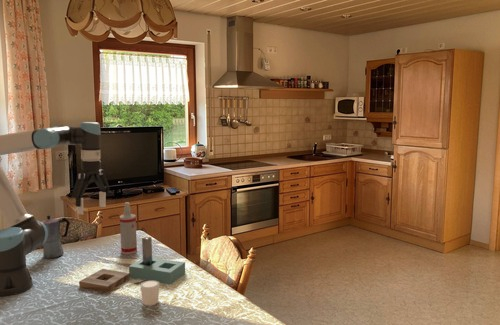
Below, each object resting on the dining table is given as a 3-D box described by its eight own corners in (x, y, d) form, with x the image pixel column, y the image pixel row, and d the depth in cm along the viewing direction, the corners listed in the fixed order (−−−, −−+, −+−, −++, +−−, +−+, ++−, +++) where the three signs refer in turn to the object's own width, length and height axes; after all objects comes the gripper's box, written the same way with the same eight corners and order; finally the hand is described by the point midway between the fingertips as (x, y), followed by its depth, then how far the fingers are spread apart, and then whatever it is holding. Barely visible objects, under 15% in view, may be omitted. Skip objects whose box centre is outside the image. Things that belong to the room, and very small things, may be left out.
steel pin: (149, 276, 180) (148, 240, 178) (141, 275, 181) (140, 239, 179) (154, 272, 183) (153, 237, 181) (146, 271, 185) (145, 236, 183)
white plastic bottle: (121, 249, 213) (119, 201, 210) (136, 248, 215) (134, 200, 212) (121, 254, 206) (119, 204, 202) (137, 253, 208) (135, 203, 205)
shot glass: (152, 295, 161) (151, 278, 160) (163, 301, 157) (163, 283, 156) (137, 302, 156) (136, 284, 155) (148, 307, 152) (148, 289, 151)
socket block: (108, 292, 164) (107, 286, 164) (79, 287, 169) (79, 281, 169) (130, 278, 177) (129, 273, 177) (102, 274, 182) (102, 268, 182)
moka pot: (37, 254, 206) (34, 214, 204) (71, 250, 213) (68, 211, 210) (36, 261, 198) (33, 219, 195) (71, 256, 204) (69, 215, 202)
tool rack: (170, 284, 172) (170, 272, 171) (129, 277, 179) (129, 266, 178) (185, 273, 183) (184, 262, 182) (145, 267, 190) (145, 256, 189)
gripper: (76, 164, 160) (77, 218, 163) (117, 157, 184) (118, 205, 186) (60, 162, 163) (62, 216, 166) (103, 156, 186) (104, 203, 189)
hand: (91, 210), depth 176 cm, fingers open, 13 cm apart
